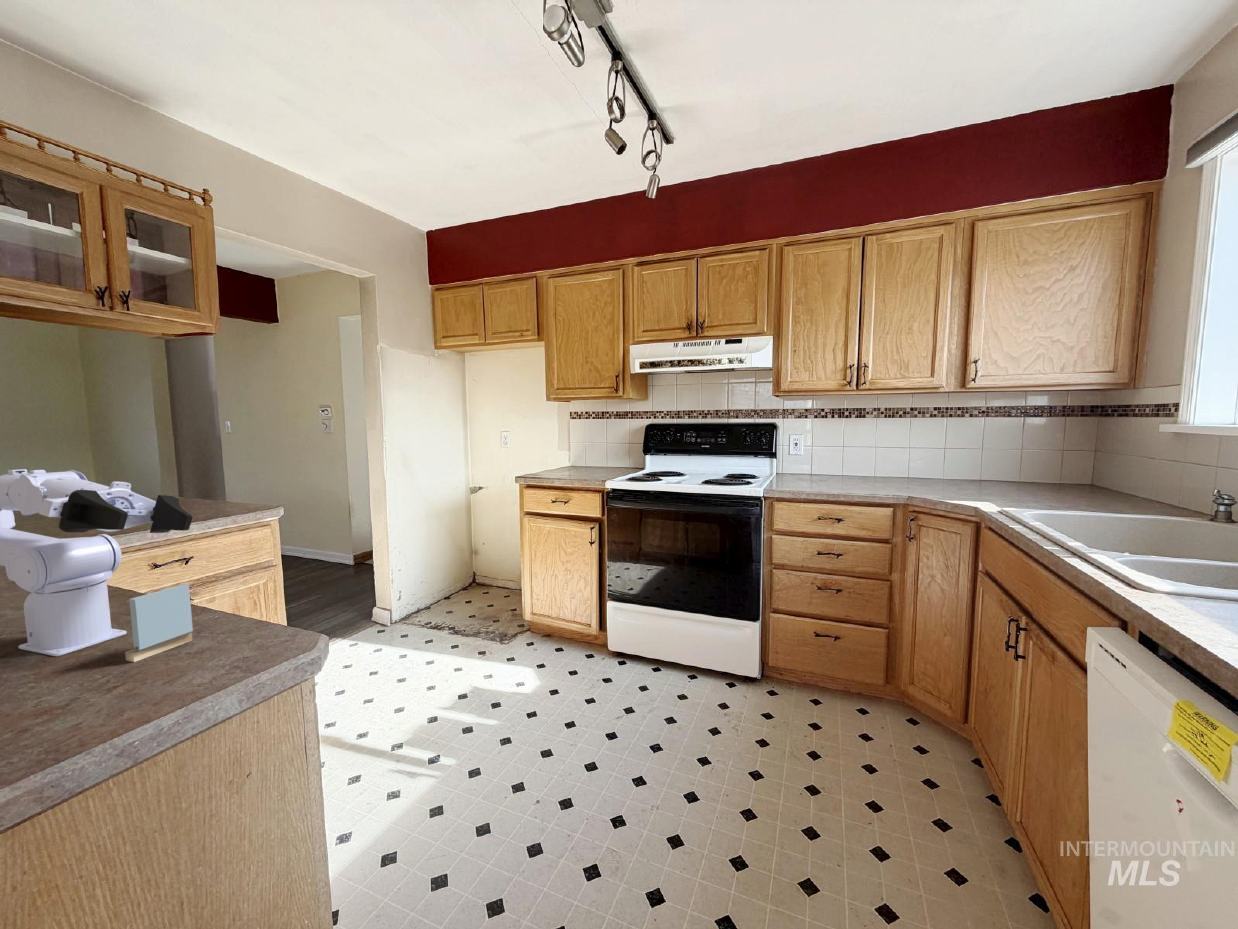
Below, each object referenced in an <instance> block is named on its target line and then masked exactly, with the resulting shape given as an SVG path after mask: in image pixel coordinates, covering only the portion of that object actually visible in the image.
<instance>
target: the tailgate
mask: <svg viewBox="0 0 1238 929" xmlns="http://www.w3.org/2000/svg"><path fill="white" fill-rule="evenodd" d="M190 592H191V591H190V584H183V583H182V584H180V585H175V586H172V587H168V588H165V589H162V590H158V591H153V592H150V593H147V594H143V595H140V596H136V597H133V598H129V600H128V601H129V609H130V622H131V630H132V642H133V649H135V651H136V652H140V651H142V650H145V649H148V648H151V647H154V646H156V645H159V644H162V643H165V642H167V641H170V640H173V639H176V638H178V637H181V636H184V635H187V634H189V633H192V634H193V631H194V628H193V626H194V625H193V619H192V618H193V616H192V606H191V595H190Z"/></svg>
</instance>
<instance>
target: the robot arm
mask: <svg viewBox="0 0 1238 929" xmlns="http://www.w3.org/2000/svg"><path fill="white" fill-rule="evenodd" d="M131 488H132V484H131V483H130V482H126V481H112V482H111V483H110V484H109V486H108V485H104V484H101V483H97V482H94V481H89V480H88V479H87V477H86V476H85V474H83V473H82V472H81V471H76V470H74V469H70V470H66V471H56V472H55V471H54V472H47V471H46V470H44V469H34V470H32V469H31V470H29V472H28V470H27V469H26V468H23V469H22V468H21V469H20V468H19V469H9V470H7V473H6V474H2V475H0V566H3V567H5V571H6V578H8V580H9V581H12V582H14V583H15V584H16V585H17V586H18V587H19V588H20V589H23V590H24V591H26V592H29V594H28V596H27V597H26V598H25V600H24V603H23V614H24V622H25V631H26V638H27V642H26V643H21V644H20V645H18V649H20V650H24V651H28V652H33V653H38V654H43V655H47V656H52V657H60V656H64V655H66V654H70V653H72V652H75V651H79V650H82V649H84V648H88V647H91V646H94V645H97V644H99V643H103V642H106V641H109V640H112V639H115V638H118V637H121V636H124V635H127V632H128V631H127V630H122V629H118V628H112V623H111V621H112V620H111V611H110V610H111V608H110V602H109V601H110V600H109V590H108V582H107V580H111V579H113V573H115V572H116V571H117V570H118V568H119V567H120V565H121V562H122V558H123V557H122V549H121V546H120V544H119V542H117V539H115V538H113V537H112V536H110V535H108V534H106V533H107V532H108V533H112V532H119V531H122V530H126V529H129V528H133V527H137V526H141V525H145V524H149V523H152V524H151V526H150V530H149V533H150V534H163V533H169V532H170V531H183V532H184V531H188V530H189V531H190V528H191V523H192V521H193V516H192V515H191V514H190V513H189V512H187V511H186V510H184V509H183V508H182V506H181V504H180V500H179V498H177V497H175V496H172V495H166V494H165V495H164V494H158V495H157V498H156V500H154V499H151V498H149V497H147V496H143V495H141V494H139V493H136V492H134V491H132V490H131ZM14 511H16V512H17V511H19V512H20V513H21V515H22V516H30V515H35V514H39V515H40V516H44V517H47V518H60V519H59V522H58V529H60V531H62V532H64V533H86V532H89V531H92V530H97V531H102V532H106V533H102V534H100V533H99V534H97V535H96V536H95V535H94V536H83V537H68V538H59V537H58V538H57V537H52V536H48V535H42V534H37V533H32V532H27V531H22V530H17V529H13V528H14V527H16V522H15V514H14Z"/></svg>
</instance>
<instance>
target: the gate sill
mask: <svg viewBox="0 0 1238 929" xmlns="http://www.w3.org/2000/svg"><path fill="white" fill-rule="evenodd" d="M192 641H193V632H192V633H189V634H187V635H184V636H181V637H178V638H176V639H173V640H170V641H167V642H165V643H162V644H159V645H156V646H154V647H151V648H148V649H145V650H142V651H140V652H136V651H135V649H134V648H133V649H130V650H127V651H125V652H124V656H125V661H127V662H132V663H136V662H138V661H141V660H143V659H146V658H150V657H152V656H154V655H157V654H160V653H163V652H165V651H169V650H170V649H173V648H176V647H179V646H182V645H183V644H187V643H189V642H192Z"/></svg>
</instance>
